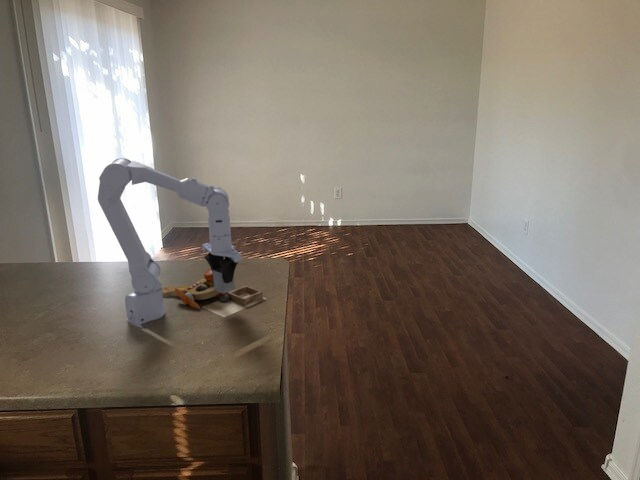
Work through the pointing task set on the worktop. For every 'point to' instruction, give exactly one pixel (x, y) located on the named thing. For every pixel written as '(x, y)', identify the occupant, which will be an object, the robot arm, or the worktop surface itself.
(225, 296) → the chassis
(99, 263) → the worktop surface
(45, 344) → the worktop surface
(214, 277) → the grey rectangular block
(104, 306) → the worktop surface
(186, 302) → the toy helicopter
